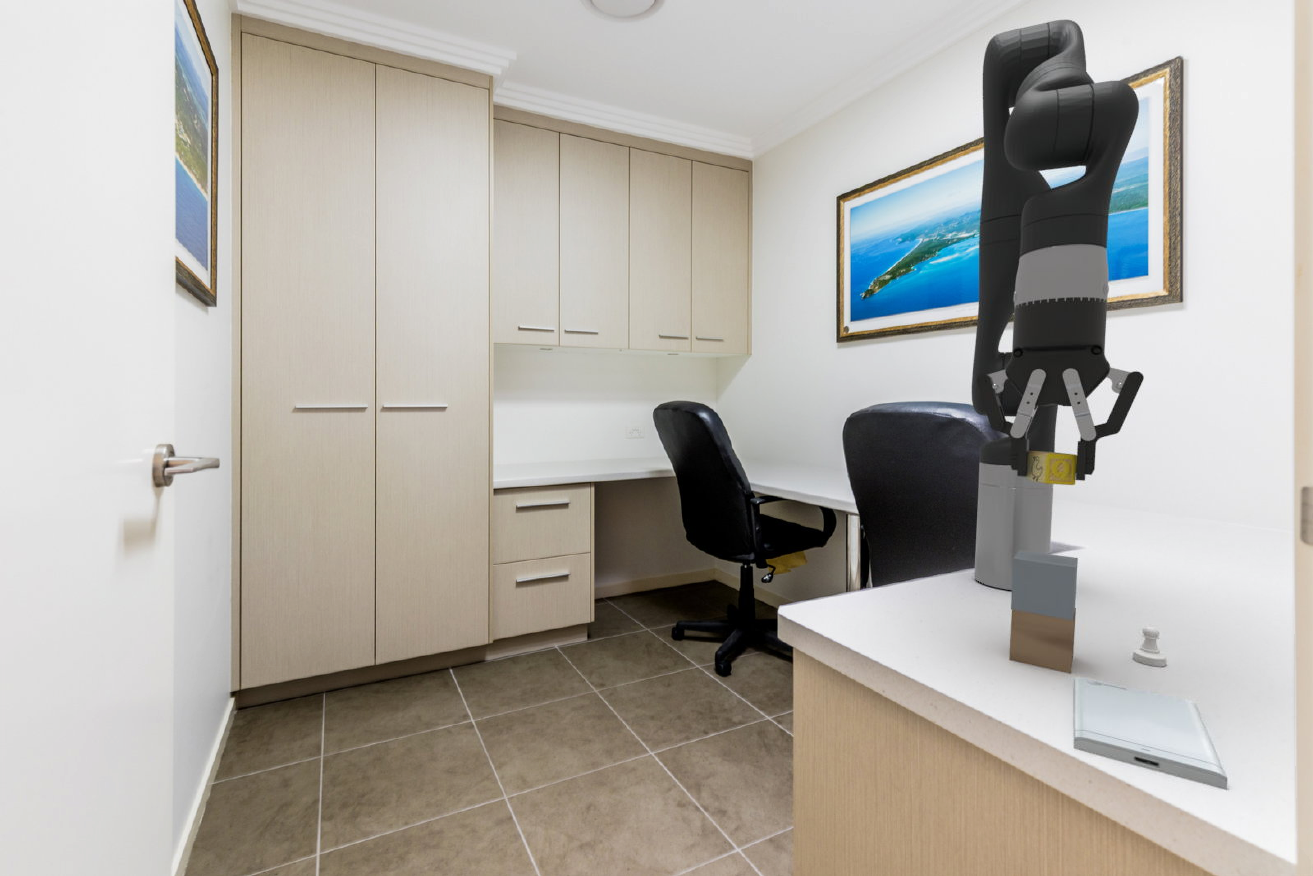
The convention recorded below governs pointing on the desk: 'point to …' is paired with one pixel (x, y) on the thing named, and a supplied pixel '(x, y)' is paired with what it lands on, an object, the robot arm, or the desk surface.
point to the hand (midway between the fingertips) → (1050, 477)
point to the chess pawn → (1150, 649)
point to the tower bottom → (1042, 641)
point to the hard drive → (1145, 730)
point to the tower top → (1044, 584)
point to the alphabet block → (1051, 467)
